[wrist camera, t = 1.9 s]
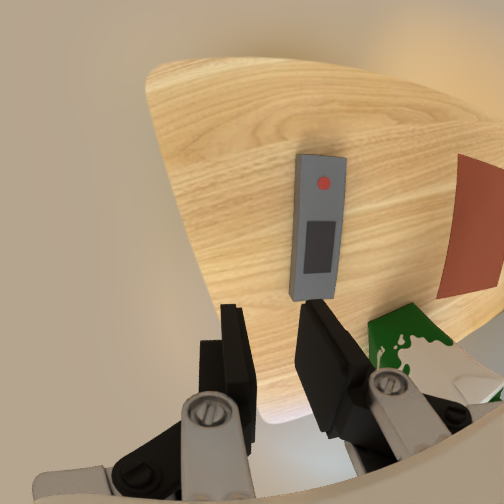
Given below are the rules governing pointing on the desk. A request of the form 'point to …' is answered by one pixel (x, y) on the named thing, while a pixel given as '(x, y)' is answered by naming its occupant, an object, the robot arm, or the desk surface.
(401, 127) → the desk surface
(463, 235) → the mat
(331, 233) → the remote
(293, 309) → the desk surface
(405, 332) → the milk carton
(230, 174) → the desk surface
